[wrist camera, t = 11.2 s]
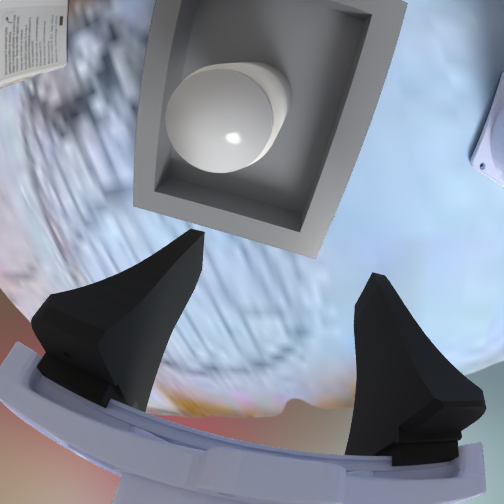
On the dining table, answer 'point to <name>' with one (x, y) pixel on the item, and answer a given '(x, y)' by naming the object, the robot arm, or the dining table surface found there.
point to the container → (31, 38)
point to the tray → (294, 126)
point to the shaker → (228, 114)
